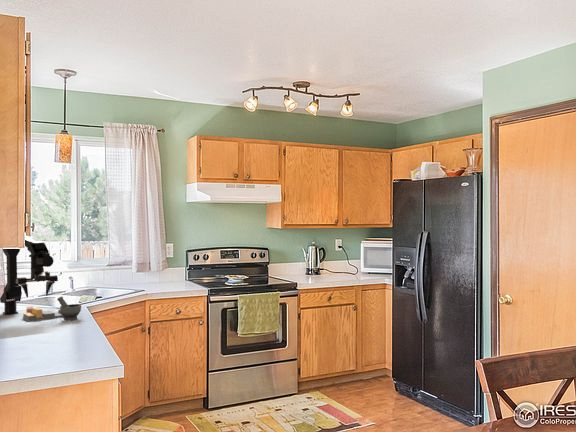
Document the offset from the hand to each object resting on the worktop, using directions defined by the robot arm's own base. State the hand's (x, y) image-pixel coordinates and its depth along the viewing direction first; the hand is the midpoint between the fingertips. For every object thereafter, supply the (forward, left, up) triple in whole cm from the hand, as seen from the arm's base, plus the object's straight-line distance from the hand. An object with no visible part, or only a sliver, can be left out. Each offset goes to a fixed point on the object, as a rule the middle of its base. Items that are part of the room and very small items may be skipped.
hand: (37, 296), depth 261 cm
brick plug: (-13, -1, -12) cm, 17 cm away
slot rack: (0, +5, -11) cm, 12 cm away
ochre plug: (0, 0, -10) cm, 10 cm away
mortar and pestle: (+14, +12, -12) cm, 21 cm away
